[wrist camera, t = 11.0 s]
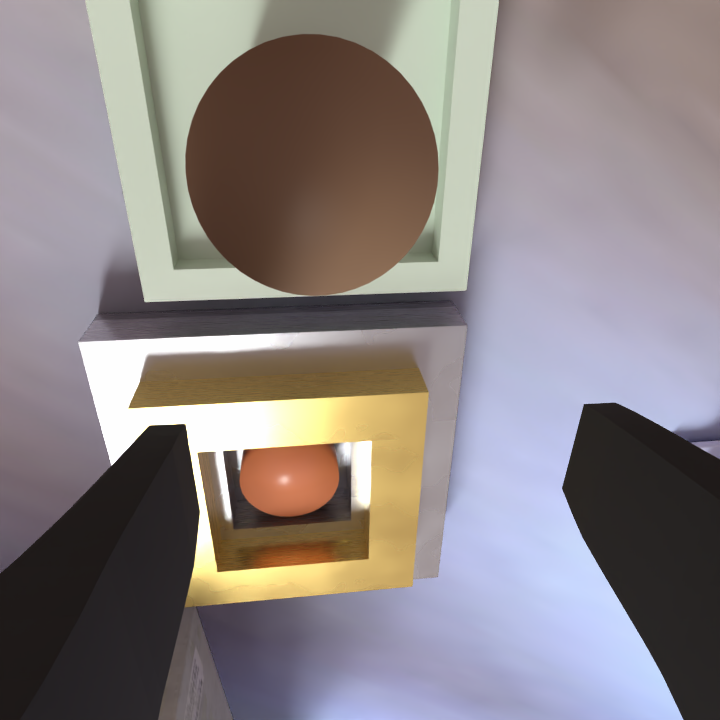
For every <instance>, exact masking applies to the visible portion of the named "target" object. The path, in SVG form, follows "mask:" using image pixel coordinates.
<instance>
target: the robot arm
mask: <svg viewBox="0 0 720 720" xmlns="http://www.w3.org/2000/svg"><path fill="white" fill-rule="evenodd" d="M562 489H563V492H564V494H565V497H566V499H567V502H568V504H569V507H570V509H571V512H572V514H573V517H574V519H575V521H576V524H577V526H578V528H579V530H580V533H581V535H582V537H583V539H584V541H585V542H586V544H587V546H588V548H589V550H590V551H591V553H592V555H593V556H594V558H595V560H596V562H597V563H598V565H599V567H600V568H601V570H602V572H603V574H604V575H605V577H606V579H607V580H608V582H609V584H610V586H611V587H612V589H613V591H614V592H615V594H616V596H617V597H618V599H619V601H620V602H621V604H622V606H623V607H624V609H625V611H626V612H627V614H628V616H629V618H630V619H631V621H632V623H633V624H634V626H635V628H636V629H637V631H638V633H639V634H640V636H641V638H642V639H643V641H644V643H645V645H646V646H647V648H648V650H649V651H650V653H651V655H652V657H653V659H654V661H655V662H656V664H657V666H658V668H659V670H660V672H661V674H662V675H663V677H664V679H665V681H666V684H667V686H668V688H669V690H670V692H671V694H672V696H673V698H674V701H675V703H676V705H677V707H678V709H679V711H680V713H681V715H682V717H683V720H720V441H705V442H688V441H686V440H685V439H683V438H681V437H679V436H678V435H676V434H674V433H672V432H671V431H669V430H667V429H665V428H663V427H662V426H660V425H658V424H656V423H654V422H653V421H651V420H649V419H647V418H645V417H643V416H641V415H640V414H638V413H636V412H634V411H632V410H630V409H628V408H626V407H623V406H621V405H619V404H617V403H600V404H584V406H583V410H582V414H581V418H580V422H579V426H578V429H577V433H576V437H575V441H574V445H573V449H572V452H571V456H570V460H569V464H568V468H567V472H566V475H565V479H564V483H563V487H562ZM199 520H200V506H199V500H198V494H197V488H196V482H195V476H194V470H193V464H192V458H191V452H190V446H189V440H188V434H187V428H186V423H184V424H163V425H149V426H148V427H147V428H146V429H145V430H144V431H143V432H142V433H141V434H140V435H139V436H138V437H137V438H136V439H135V441H134V442H133V443H132V444H131V445H130V446H129V447H128V448H127V449H126V450H125V451H124V452H123V454H122V455H121V456H120V457H119V458H118V459H117V460H116V461H115V462H114V463H113V464H112V465H111V467H110V468H109V469H108V470H107V471H106V472H105V473H104V474H103V475H102V476H101V477H100V478H99V479H98V480H97V482H96V483H95V484H94V485H93V486H92V487H91V488H90V489H89V490H88V491H87V492H86V493H85V494H84V495H83V496H82V497H81V498H80V499H79V500H78V501H77V502H76V503H75V504H74V505H73V506H72V507H71V508H70V509H69V510H68V511H67V512H66V513H65V514H64V515H63V516H62V517H61V518H60V519H59V520H58V521H57V522H56V523H55V524H54V525H53V526H52V527H51V528H50V529H49V530H48V531H46V532H45V533H44V534H43V535H42V536H41V537H40V538H39V539H38V540H37V541H36V542H35V543H34V544H33V545H32V546H31V547H29V548H28V549H27V550H26V551H25V552H24V553H23V554H22V555H21V556H20V557H19V558H18V559H17V560H15V561H14V562H13V563H12V564H11V565H10V566H9V567H7V568H6V569H5V570H4V571H3V572H2V573H0V720H158V718H159V713H160V708H161V703H162V698H163V694H164V690H165V686H166V681H167V677H168V673H169V669H170V665H171V661H172V657H173V653H174V648H175V644H176V640H177V636H178V632H179V628H180V624H181V620H182V615H183V611H184V607H185V603H186V599H187V594H188V590H189V586H190V582H191V577H192V573H193V569H194V563H195V555H196V547H197V538H198V529H199Z"/></svg>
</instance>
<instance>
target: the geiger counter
mask: <svg viewBox="0 0 720 720" xmlns="http://www.w3.org/2000/svg"><path fill="white" fill-rule="evenodd" d="M158 720H233V717H232V714H231V711H230V708H229V705H228V702H227V699H226V696H225V693H224V690H223V687H222V684H221V681H220V678H219V675H218V672H217V669H216V666H215V663H214V660H213V657H212V654H211V651H210V648H209V645H208V642H207V639H206V636H205V633H204V630H203V627H202V624H201V621H200V618H199V615H198V612H197V609H196V607H184V611H183V615H182V620H181V624H180V628H179V632H178V636H177V640H176V644H175V648H174V653H173V657H172V661H171V665H170V669H169V673H168V677H167V681H166V686H165V690H164V694H163V698H162V703H161V708H160V713H159V718H158Z"/></svg>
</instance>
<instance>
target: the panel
mask: <svg viewBox="0 0 720 720" xmlns="http://www.w3.org/2000/svg"><path fill="white" fill-rule="evenodd" d="M466 334H467V324H466V322H465V321H464V319H463V318H462V316H461V315H460V313H459V312H458V310H457V309H456V307H455V305H454V304H453V302H452V301H432V302H405V303H379V304H352V305H325V306H299V307H272V308H246V309H219V310H193V311H166V312H140V313H113V314H97V316H96V317H95V319H94V320H93V322H92V323H91V324H90V326H89V327H88V329H87V330H86V332H85V333H84V334H83V336H82V337H81V339H80V340H79V342H78V343H79V347H80V351H81V355H82V358H83V362H84V366H85V369H86V373H87V377H88V380H89V384H90V388H91V391H92V395H93V399H94V402H95V406H96V410H97V413H98V417H99V421H100V424H101V428H102V432H103V435H104V439H105V443H106V446H107V450H108V454H109V457H110V461H111V465H112V464H113V463H114V462H115V461H116V460H117V459H118V458H119V457H120V456H121V455H122V454H123V452H124V451H125V450H126V449H127V448H128V447H129V446H130V445H131V444H132V443H133V442H134V441H135V439H136V438H137V437H138V436H139V435H140V434H141V433H142V432H143V431H144V430H145V429H146V428H147V427H148V426H149V425H163V424H184V423H186V428H187V434H188V440H189V446H190V452H191V458H192V464H193V470H194V476H195V482H196V488H197V494H198V500H199V506H200V520H199V529H198V538H197V547H196V555H195V563H194V569H193V573H192V577H191V582H190V586H189V590H188V594H187V599H186V603H185V607H195V606H206V605H217V604H227V603H238V602H249V601H260V600H271V599H282V598H292V597H303V596H314V595H325V594H336V593H346V592H357V591H368V590H379V589H390V588H400V587H411V586H412V585H413V579H422V578H433V577H438V572H439V563H440V555H441V546H442V538H443V529H444V521H445V512H446V504H447V495H448V487H449V478H450V470H451V461H452V453H453V444H454V436H455V427H456V419H457V410H458V402H459V393H460V385H461V376H462V368H463V359H464V351H465V342H466ZM331 443H333V444H334V446H335V449H336V454H337V462H338V470H339V483H338V487H337V489H336V492H335V493H334V495H333V496H332V498H331V499H330V500H329V501H328V502H327V503H326V504H325V505H323V506H322V507H320V508H319V509H317V510H315V511H313V512H310V513H307V514H304V515H300V516H292V517H284V516H275V515H271V514H268V513H265V512H263V511H261V510H259V509H257V508H256V507H254V506H253V505H252V504H250V503H249V502H248V500H247V499H246V498H245V496H244V495H243V493H242V490H241V487H240V471H241V462H242V453H243V450H244V449H253V448H269V447H284V446H300V445H316V444H331Z"/></svg>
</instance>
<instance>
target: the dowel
mask: <svg viewBox="0 0 720 720" xmlns="http://www.w3.org/2000/svg"><path fill="white" fill-rule="evenodd" d="M185 172H186V180H187V187H188V192H189V196H190V199H191V203H192V206H193V209H194V211H195V214H196V216H197V219H198V221H199V223H200V225H201V227H202V228H203V230H204V232H205V234H206V235H207V237H208V238H209V240H210V241H211V242H212V244H213V245H214V246H215V248H216V249H217V250H218V251H219V252H220V254H221V255H222V256H223V257H224V258H225V259H226V260H227V261H228V262H229V263H231V264H232V265H233V266H234V267H235V268H237V269H238V270H239V271H240V272H242V273H243V274H245V275H246V276H248V277H250V278H251V279H253V280H254V281H257V282H259V283H261V284H263V285H265V286H267V287H270V288H273V289H276V290H279V291H282V292H286V293H291V294H296V295H306V296H324V295H332V294H338V293H343V292H347V291H350V290H354V289H356V288H359V287H361V286H364V285H366V284H368V283H370V282H372V281H374V280H375V279H377V278H379V277H381V276H382V275H383V274H385V273H386V272H387V271H389V270H390V269H391V268H393V267H394V266H395V265H396V264H397V263H398V262H399V261H400V260H401V259H402V258H403V257H404V256H405V255H406V254H407V253H408V252H409V250H410V249H411V248H412V247H413V245H414V244H415V243H416V241H417V239H418V238H419V236H420V235H421V233H422V231H423V229H424V227H425V225H426V223H427V221H428V219H429V216H430V213H431V210H432V207H433V204H434V201H435V196H436V191H437V186H438V172H439V165H438V150H437V145H436V139H435V134H434V131H433V128H432V125H431V121H430V118H429V116H428V114H427V112H426V110H425V107H424V105H423V103H422V101H421V100H420V98H419V97H418V95H417V93H416V92H415V90H414V89H413V87H412V86H411V85H410V84H409V82H408V81H407V80H406V79H405V78H404V76H403V75H402V74H401V73H400V72H399V71H398V70H397V69H396V68H394V67H393V66H392V65H391V64H390V63H389V62H388V61H386V60H385V59H384V58H382V57H381V56H379V55H378V54H376V53H375V52H373V51H372V50H369V49H367V48H365V47H363V46H361V45H359V44H357V43H355V42H352V41H349V40H345V39H342V38H339V37H334V36H328V35H322V34H298V35H291V36H284V37H280V38H277V39H273V40H270V41H267V42H264V43H262V44H260V45H258V46H256V47H254V48H252V49H250V50H248V51H246V52H245V53H243V54H242V55H240V56H239V57H237V58H236V59H235V60H233V61H232V62H231V63H230V64H229V65H228V66H227V67H226V68H224V69H223V70H222V71H221V72H220V73H219V74H218V76H217V77H216V78H215V79H214V81H213V82H212V83H211V84H210V86H209V87H208V88H207V90H206V92H205V93H204V95H203V97H202V99H201V100H200V102H199V104H198V106H197V109H196V111H195V114H194V116H193V118H192V121H191V125H190V129H189V133H188V137H187V145H186V153H185Z"/></svg>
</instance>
